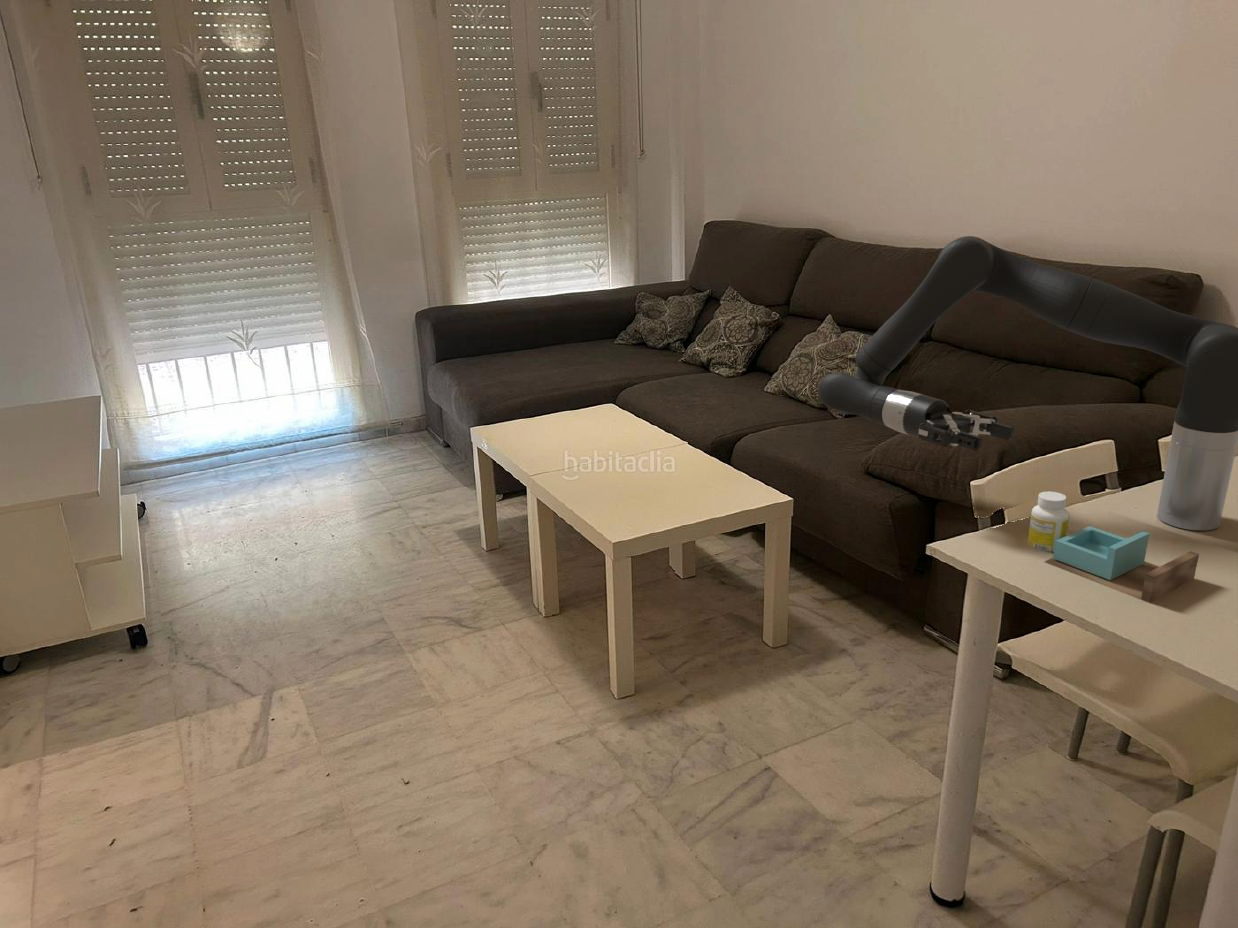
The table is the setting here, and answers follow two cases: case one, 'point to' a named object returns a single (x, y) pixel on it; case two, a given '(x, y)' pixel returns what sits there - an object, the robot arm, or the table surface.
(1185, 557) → the walnut board
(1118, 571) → the teal open tray
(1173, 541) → the table surface
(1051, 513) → the supplement bottle
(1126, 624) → the table surface
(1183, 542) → the table surface
